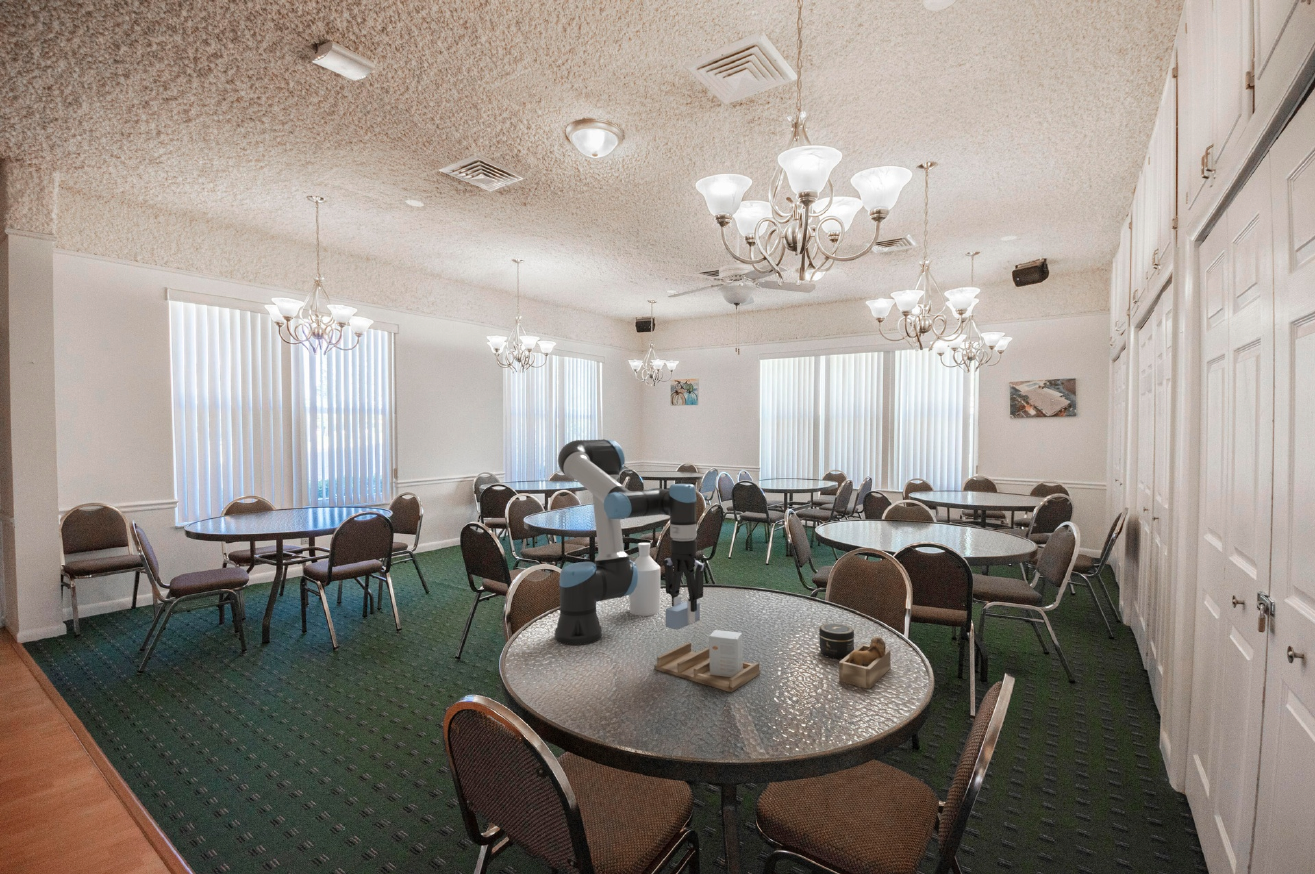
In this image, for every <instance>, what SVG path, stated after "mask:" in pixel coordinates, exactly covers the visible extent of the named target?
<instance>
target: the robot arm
mask: <svg viewBox="0 0 1315 874" xmlns="http://www.w3.org/2000/svg"><path fill="white" fill-rule="evenodd" d="M557 458H558V459H557V463H558V467H559V469H560V472H562V474H564V476H566V477H567V478H568V479H570V480H575V481H577V482H578V483H579V484H580V485H581V486H583V488H585V489H587V491H589V492H590V493H591V494H592V495H591V496H592V503H593V513H594V522H595V530H596V531H595V532H596V542H597V550H598V555H597V556H596V557H595V559H594V561H593V562H592V561H583V562H582V561H580V562H575V563H574V562H573V563H571V564H568V565H566V566H564V567H563V568H562V569H561V570H560V574H559V582H558V585H559V617H558V621H557V625H556V628H555V630H554V640H555V641H556V643H557V642H558V643H560V644H564V645H571V646H575V645H576V646H579V645H589V644H592V643H594V642H597V641H599V640H600V639H601V638H602V636H603V630H602V626H601V624H600V620H599V617H598V614H597V603H598V602H603V601H608V600H612V599H613V600H614V599H619V598H620V599H622V598H623V597H627V596H629V595H630V594H631V593H633V592H634V590H635V588H636V586H637V583H638V570H637V567H636V566H635V563H634V561H632V560H631V559H630V556H629V554H628V553H626V551H625V550H624V541H623V531H622V522H621V520H625V519H632V518H641V517H650V516H652V517H653V516H662V515H663V516H669V526H670V527H669V528H670V529H669V532H670V533H669V534H670V535H669V537H670V538H671V539H670V541H669V546H670V548H669V549H670V551H669V552H670V553H671V554H670V557H667V558H664V559H663V560H662V563H663V567H664V579H665V581H664V582H665V583H664V584H665V586H664V587H665V593H666V594H667V595H670V597H671V607H672V606H675V605H678V604H681V603H682V595H681V592H680V591H681V590H680V589H681V585H682V584H681V583H682V577H683V575H684V577H685V581H686V586H687V592H688V593H687V594H688V597H689V598H687V600H686V601H687V622H688V624H690V625H692V624H694V623H693V622H695V611H697V602H698V600H699V599H701V598H703V597H704V575H705V573H704V572H705V568H706V563H705V562H700V561H699V560H698V557H697V552H698V549H697V548H698V545H697V544H698V543H697V539H696V538H697V537H698V535H697V534H698V532H697V531H698V530H697V499H698V498H697V493H696V492H697V491H696V487H695V485H694V484H692V483H674V484H671V485H670V486H669V489H664V488H660V487H659V488H658V487H657V488H656V487H655V488H649V489H648V490H633V491H632V490H629V489H628V488H626V487H625V486H624V485H623V484H621V483H620V482H618V479H619V478H620V475H621V474H620V473H621V472H622V471H623V469H624V467H625V463H626V462H625V461H626V459H625V458H626V457H625V453H624V450H623V448H622V446H621V444H620V443H618V442H617V441H615V440H613V439H605V438H604V439H603V438H602V439H575V440H571V441H569V442H568V443H566V444H565V445H564V446H562V448H561V450H560V451H559V453H558V456H557ZM691 623H692V624H691ZM695 623H696V622H695Z"/></svg>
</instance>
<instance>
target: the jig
mask: <svg viewBox="0 0 1315 874" xmlns="http://www.w3.org/2000/svg"><path fill="white" fill-rule="evenodd" d="M654 670H657V671H660V672H663V673H666V674H670V675H673V676H676V677H680V678H683V679H686V680H690V681H692V682H696V683H700V684H703V685H706V686H710V687H712V688H716V689H718V690H722V691H726V692H727V693H728V692H729V693H734V692H735V691H737V689H739V688H741V687H742V686H743V685H745V684H747V683H748V682H750V681H751V680H753V679H754V678H756V677H757V676H758V675H760V674H761V669H760V662H757V661H755V662H754V663H750V662H746V661H743V671H741V672H739V673H738V674H736V675H735V676H733V677H732V678H731V677H723V676H716V675H710V660H709V646H707V647H706V648H704V649H701V650H700V651H698V652H696V651H692V642H690V641H688V642H686V643H684V644H681V645H680V646H677V647H676V648H675V647H674V648H673V649H671V650H669V651H667V652H665V653H663V654H661V655H659V656H657V657H656V664H655V665H654Z"/></svg>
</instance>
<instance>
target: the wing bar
mask: <svg viewBox="0 0 1315 874" xmlns="http://www.w3.org/2000/svg"><path fill="white" fill-rule="evenodd" d="M700 605H701V604H700V602H698V601H697V611H695V622H693V623H691V624H688V622H687V600H686V601H683V602H681V604H678V605H675V606H672V605H671V606H670V607H667V608H665V628H669V629H672V630H676V631H677V630H678V631H679V630H680V629H682V628H683V629H684V628H685V627H687V626H690V625H692V624H694V623H696V622H699V621H700V620H701V619H700V617H701V612H700V611H701V610H700V609H701V606H700Z"/></svg>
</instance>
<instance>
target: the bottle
mask: <svg viewBox="0 0 1315 874" xmlns="http://www.w3.org/2000/svg"><path fill="white" fill-rule="evenodd" d="M637 547H638V556H637V557H636V559H635V560H634V561H633V562H634V563H635V566H636V567H637V570H638V583H637V586H636V588H635V590H634V592H633V593H631V594H630V595H628V596H629V613H630V614H632V615H636V616H643V617H644V616H654V615H657V614H659V613H660V612H661V566H660V565H659V564H658V563H657V562H656V561H655V560H654V559H653V558H652V556H651V555H650V554H651V553H650V552H651V551H650V548H651V543H650V542H639V543H637Z"/></svg>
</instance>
